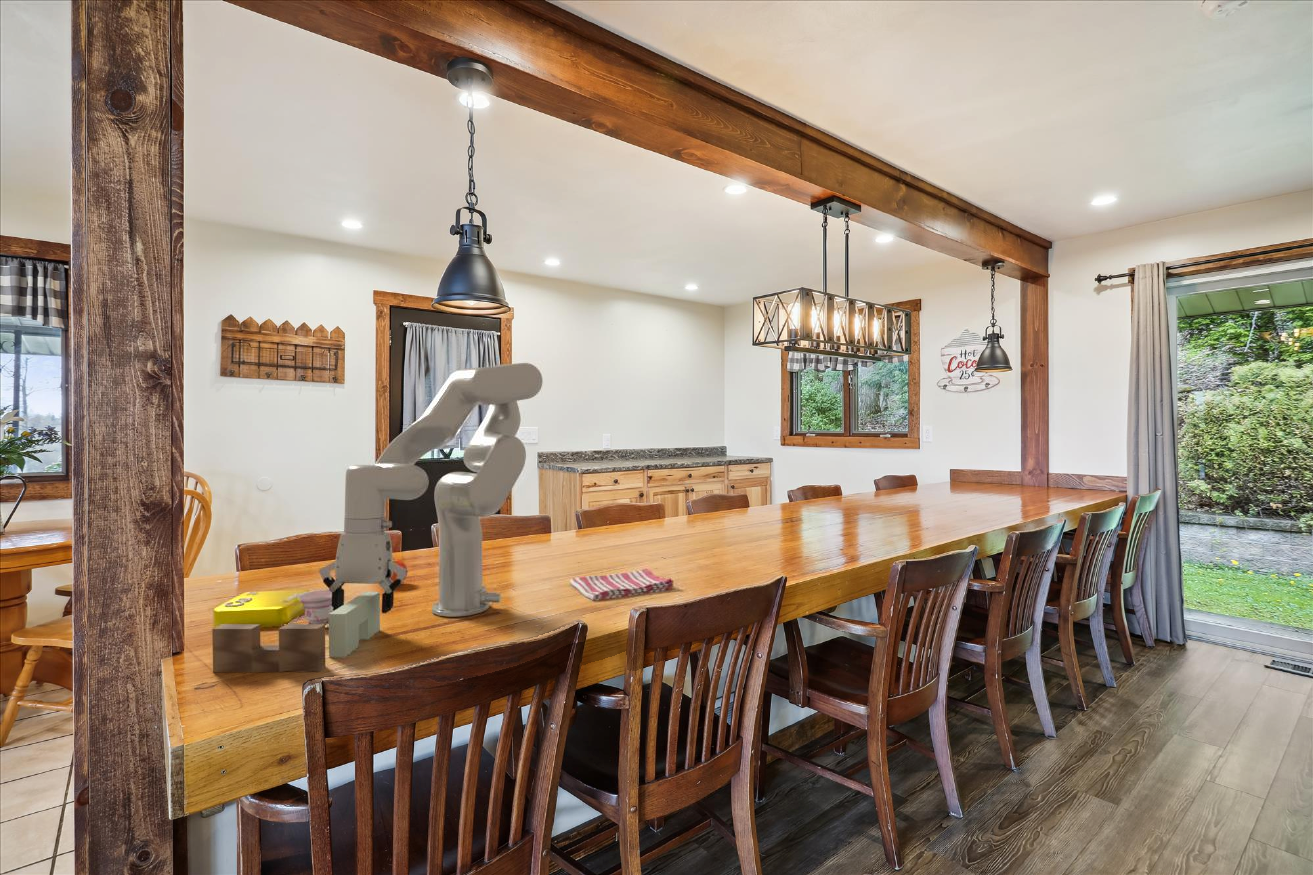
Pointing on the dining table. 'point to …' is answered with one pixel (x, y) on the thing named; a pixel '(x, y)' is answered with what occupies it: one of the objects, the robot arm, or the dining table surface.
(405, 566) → the clementine
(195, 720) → the dining table surface
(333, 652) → the sage cross-piece
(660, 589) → the dish towel
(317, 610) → the teacup
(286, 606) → the element tile
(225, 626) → the walnut upright plate
